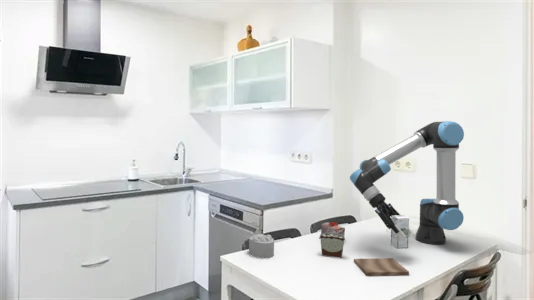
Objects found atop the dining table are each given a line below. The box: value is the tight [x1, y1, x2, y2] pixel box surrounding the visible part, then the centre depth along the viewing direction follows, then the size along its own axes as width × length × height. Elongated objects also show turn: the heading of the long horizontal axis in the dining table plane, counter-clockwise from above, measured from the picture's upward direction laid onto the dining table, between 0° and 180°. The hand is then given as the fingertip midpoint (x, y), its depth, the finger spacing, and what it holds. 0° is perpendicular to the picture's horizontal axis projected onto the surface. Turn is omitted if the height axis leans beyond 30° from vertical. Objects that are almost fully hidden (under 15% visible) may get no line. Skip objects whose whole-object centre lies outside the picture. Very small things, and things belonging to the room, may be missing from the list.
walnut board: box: [353, 257, 410, 277], centre depth 156 cm, size 18×16×2 cm
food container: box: [318, 233, 346, 259], centre depth 172 cm, size 12×6×10 cm, turn 71°
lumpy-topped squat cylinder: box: [248, 233, 275, 259], centre depth 173 cm, size 10×13×9 cm
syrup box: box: [390, 214, 410, 250], centre depth 167 cm, size 6×6×14 cm
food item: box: [320, 221, 346, 236], centre depth 196 cm, size 14×8×10 cm, turn 34°
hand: (407, 236), depth 165 cm, fingers closed on syrup box, 8 cm apart
